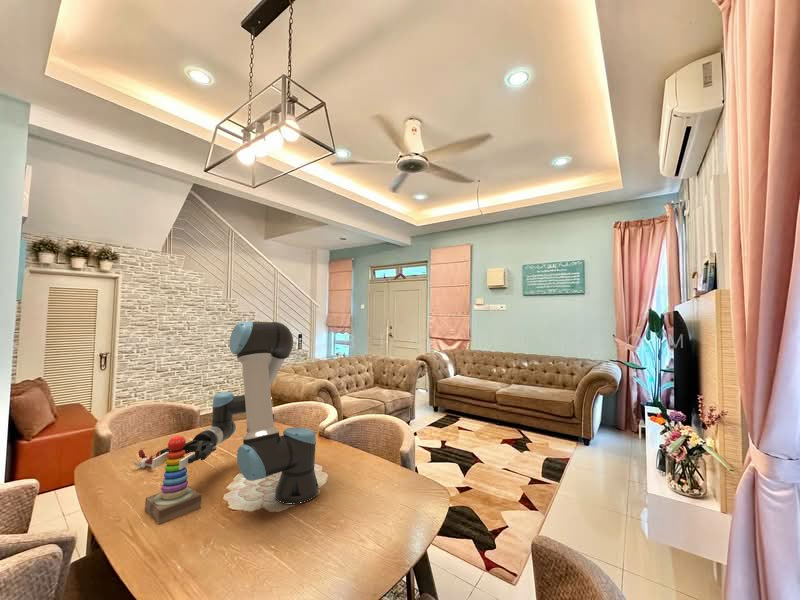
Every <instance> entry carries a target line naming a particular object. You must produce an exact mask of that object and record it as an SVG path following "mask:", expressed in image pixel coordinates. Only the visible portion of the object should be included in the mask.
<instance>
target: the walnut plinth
mask: <svg viewBox="0 0 800 600" xmlns="http://www.w3.org/2000/svg"><path fill="white" fill-rule="evenodd" d="M187 486H188V487H189V490H188V492H187V493H185V494H184V495H182V496H180V497H177V498H172V499H163V498H161V496H160V493H161V492H160V493H156V494H154V495H150V496H147V497H145V502H144V511H145V512H146V514H148V515H149V516H150V517H151V518H152V519H153V520H154V521H155V520H156V521H157V522H158V523H159V524H158V523H157V522H156V521H155V522H156V523H157V524H158V525H161V524H163V523H162V522H164V523H166V522H169V521H171V520H174V519H177V518H179V517H181V516H184V515H186V514H189V513H191V512H193V510H194V511H196V510H198V508H199V509H201V508H202V507H201V505H202V495H201V494H200V493H198V491H196V490H194V489H193V488H191V487H190V486H189V485H187ZM188 512H189V513H188ZM168 520H169V521H168ZM165 521H166V522H165Z"/></svg>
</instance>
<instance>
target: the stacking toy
mask: <svg viewBox="0 0 800 600" xmlns="http://www.w3.org/2000/svg"><path fill="white" fill-rule="evenodd" d="M185 443H187V441H186V438H185V437H184V436H182V435H175V436H172V437H171V438H170V439H169V441H168V443H167V448H169V450H171V451H170V452H169V453H168V455H167V456H168V459H167V460H166V462H165V467H164V471H165V472H164V473H163V479H162V485H161V487H160V490H161V491H160V496H161V498H163V499H172V498H177V497H180V496H182V495H184V494H185V493H187V492H188V490H189V487H190V486H189V481H188V477H189V475H188V474H187V472H188V468H187V466H186V467H184V468H183V469H181V470H179V461H180V460H182V459H183V458H185V457H186V456H185V455H186V454H185V450H183V447H184V446H185ZM188 486H189V487H188Z"/></svg>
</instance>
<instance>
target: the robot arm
mask: <svg viewBox="0 0 800 600" xmlns="http://www.w3.org/2000/svg"><path fill="white" fill-rule="evenodd" d="M293 347H294V336H293V333H292V332H291V330H290V329H289V327H288V326H287V325H285V324H284V323H281V322H280V321H279V322H278V321H271V322H270V321H251V320H249V321H240V322H238V323H236V325H234V327H233V329H232V330H231V333H230V337H229V350H230V352H231V354H233V355H236V359H237V361H238V362H240V363H241V364H242V367H241V368H242V377H243V388H244V391H243V393H244V394H243V395H242V394H241V395H236V396H235V395H234V392H230V391H226V392H218V393H215V394H214V396H213V401H212V414H211V416H212V417H211V426H210V427H208V428H207V429H205V430H203V431H202V432H199V433H197V434H196V435H195V436H194V438H193V439H192V440H190V441H188V442H186V443H185V446H184V447H183V450H185V454H184V455H187V454H188V455H187V456H185V458H183V459H182V460H180V461H179V470H181V469H183V468H184V467H186V468H187V466H189V465H190V464H193V463H195V462H197V461H199V460H201V461H205V460H206V459H207V458H208V457H209V456H210V455H211V454H212V453H213V452H214V451H216V450H217V446H218V445H219V444H221V443H223V442H224V441H226V440H228V439H229V438H231V436H232V435H234V433H235V432H236V428H237V425H236V423H235V421H234V420H233V415H238V414H244V413H245V415H246V418H245V419H246V432H247V433H246V434H245V436H243V437H244V438H243V439H242V442H243V444H242V445H240V447H238V449H237V451H236V452H237V454H236V460H237V464H238V469H239V471H240V474H241V475H242V476H243V478H245V480H247V481H250V482H253V481H257V480H261V479H265V478H267V477H269V476H273V475H276V474H279V473H281V474H280V477H279V480H278V482H277V486H276V488H275V492H274V497H276V498H277V499H278V500H279V501H281V502H284V503H292V504H291V505H294V504H293V503H300V502H304V501H307V500H309V499H311V498H313V497H314V496H315V495H316V494H317V493H318V494H319V483H318V480H317V475H316V473H315V460H316V445H317V439H316V435H317V434H316V433H315V431H314V430H313V429H310V428H307V427H298V426H297V427H296V426H294V427H293V426H292V427H286V428H285V429H284V430H283V432H282V434H283V435H280V431H279V430H278V429H277V428H275V421H274V422H273V414H274V413H273V403H272V392H271V386H272V384H273V382H274V381H275V378H276V377H277V375H278V373H279V371H280V369H281V367H282V365H283V363H284V361H285V360H286V359H288V358H289V356H290V355H291V353H292V350H293ZM159 451H160V454H159V455H160V456H158V457H156V456H155V457H156V458H155V457H154V458H155V459H153V460H152V467H151V469H156V468H157V466H158V467H159V466H161V465H162V464H164V463H166V460H167V459H168V456H167V455H168V453H169V452H170V451H171V450H169V448H168V447H166V448H163V449H161V450H159ZM318 494H317V495H318ZM276 498H275V499H276ZM313 499H314V498H313ZM279 501H278V502H279ZM281 502H280V503H281ZM307 502H308V501H307ZM284 503H283V504H284ZM300 504H301V503H300Z"/></svg>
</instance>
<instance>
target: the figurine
mask: <svg viewBox="0 0 800 600" xmlns="http://www.w3.org/2000/svg"><path fill="white" fill-rule="evenodd" d="M145 449H146V448H145V447H142V448H141V449H140V450H138V456H139V457H138V458H141V460H140V462H139V463H137V462H136V461H134V460H133V462H132V463H133V464H134V465H135V467H136V468H139V469H141V468H142V469H144V468H145V467H146V466H148V467H150V468H152V460H153V459H155V458H156V457H158V456H160V451H161V450H158V451H157V453H156V454H153V455H150V456H149V457H148V456H147V455H146V453H144V452H145V451H144V450H145ZM154 456H155V457H154Z"/></svg>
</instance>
